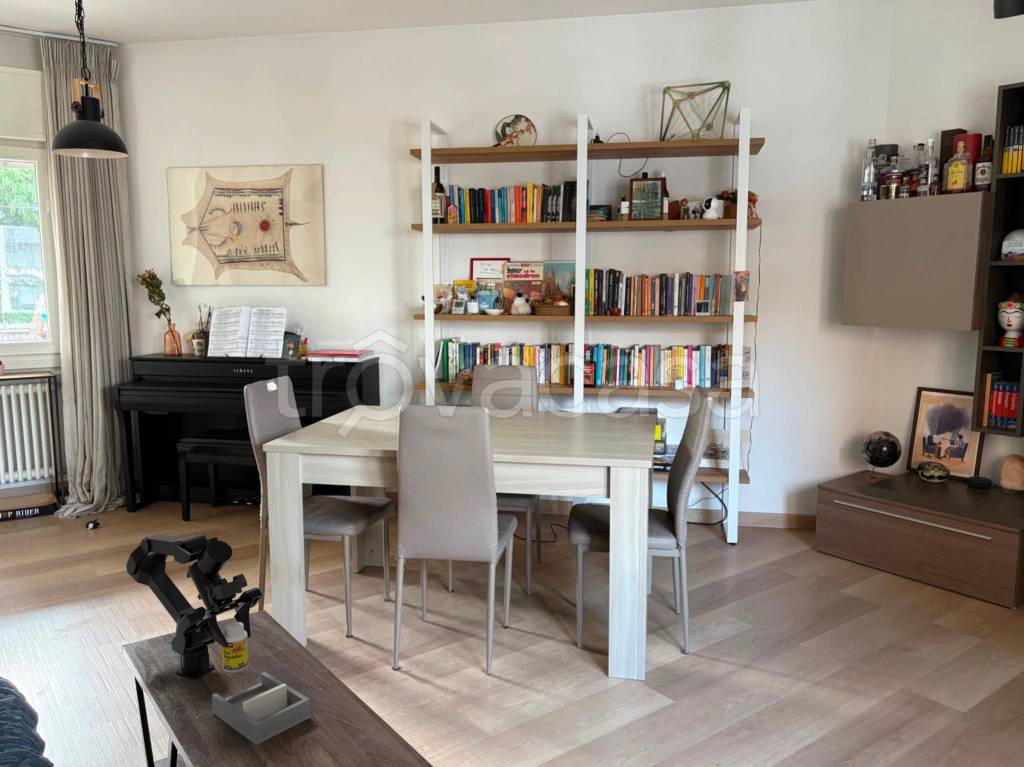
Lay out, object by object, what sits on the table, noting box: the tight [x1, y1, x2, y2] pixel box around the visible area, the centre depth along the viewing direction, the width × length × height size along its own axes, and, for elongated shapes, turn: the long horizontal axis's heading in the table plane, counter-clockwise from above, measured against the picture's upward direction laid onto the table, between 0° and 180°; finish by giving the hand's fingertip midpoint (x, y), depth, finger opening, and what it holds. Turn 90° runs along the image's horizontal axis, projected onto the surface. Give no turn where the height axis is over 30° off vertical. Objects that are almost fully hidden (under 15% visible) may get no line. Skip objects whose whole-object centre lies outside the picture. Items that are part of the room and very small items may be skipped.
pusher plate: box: [243, 683, 288, 721], centre depth 163 cm, size 1×10×5 cm, turn 140°
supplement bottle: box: [221, 621, 249, 673], centre depth 171 cm, size 6×6×10 cm
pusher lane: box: [211, 671, 311, 746], centre depth 164 cm, size 18×13×4 cm
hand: (238, 641), depth 170 cm, fingers closed on supplement bottle, 5 cm apart
